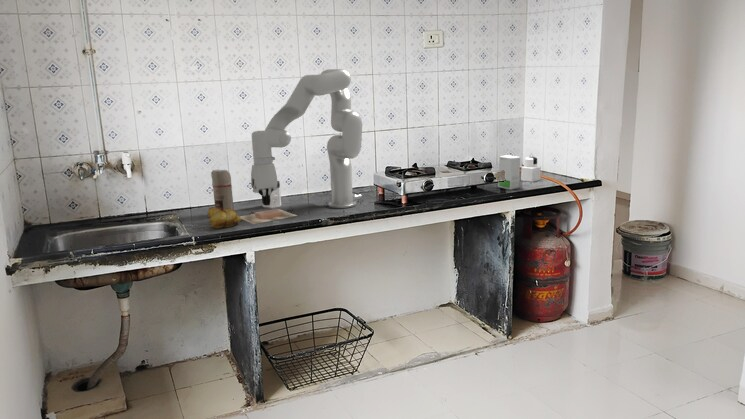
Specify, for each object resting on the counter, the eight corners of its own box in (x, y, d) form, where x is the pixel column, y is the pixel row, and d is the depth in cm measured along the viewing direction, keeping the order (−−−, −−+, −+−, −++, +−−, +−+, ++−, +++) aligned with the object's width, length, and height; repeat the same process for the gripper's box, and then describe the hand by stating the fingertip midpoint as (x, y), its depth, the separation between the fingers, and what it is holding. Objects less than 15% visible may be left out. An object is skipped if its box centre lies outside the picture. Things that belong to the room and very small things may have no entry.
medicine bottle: (529, 178, 325) (529, 155, 322) (540, 180, 320) (541, 157, 317) (520, 180, 321) (521, 157, 318) (532, 182, 315) (532, 158, 313)
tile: (273, 209, 263) (254, 212, 258) (281, 211, 258) (261, 215, 253) (274, 212, 264) (254, 216, 259) (281, 215, 258) (262, 219, 253)
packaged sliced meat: (279, 211, 270) (279, 209, 270) (297, 218, 258) (297, 215, 257) (237, 219, 259) (236, 216, 259) (253, 226, 246) (253, 224, 246)
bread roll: (240, 221, 256) (238, 203, 254) (243, 227, 247) (241, 207, 245) (208, 225, 252) (206, 206, 250) (210, 231, 243) (208, 211, 241)
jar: (266, 211, 272) (264, 184, 270) (259, 208, 279) (257, 182, 276) (285, 208, 277) (283, 181, 274) (277, 205, 284) (275, 179, 281)
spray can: (211, 214, 270) (207, 169, 265) (228, 211, 275) (224, 166, 270) (220, 217, 264) (216, 171, 259) (237, 214, 269) (233, 168, 264)
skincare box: (498, 187, 305) (498, 156, 302) (507, 185, 309) (507, 154, 305) (511, 189, 299) (511, 157, 295) (520, 187, 302) (520, 156, 299)
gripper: (275, 158, 260) (278, 200, 264) (242, 162, 252) (246, 206, 256) (283, 159, 254) (286, 203, 258) (250, 164, 246) (254, 209, 250)
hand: (266, 204), depth 257 cm, fingers closed
